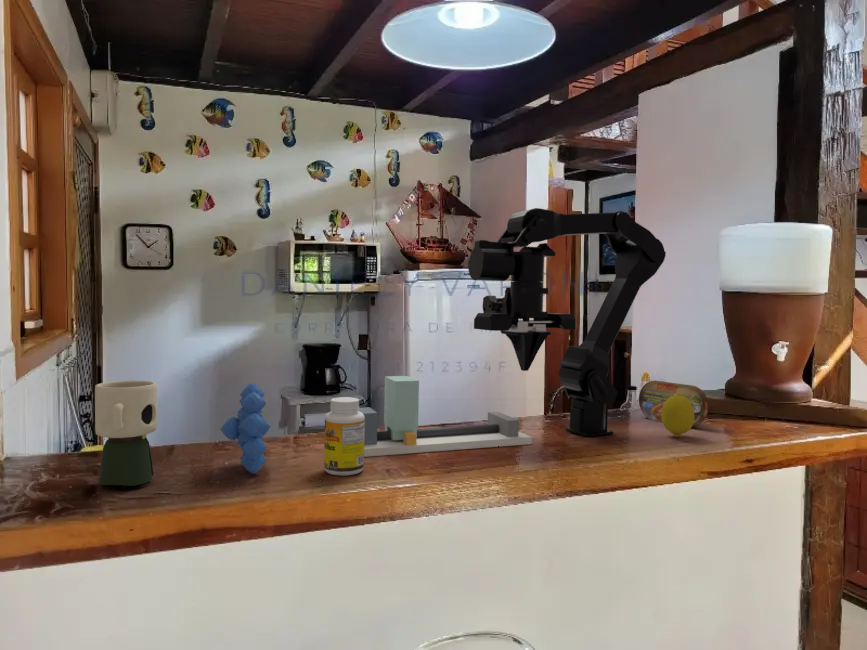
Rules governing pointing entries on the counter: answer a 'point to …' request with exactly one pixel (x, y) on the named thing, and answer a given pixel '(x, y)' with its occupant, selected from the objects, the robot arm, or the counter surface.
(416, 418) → the sleeve
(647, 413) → the tin
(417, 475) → the counter surface
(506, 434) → the cord rig
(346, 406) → the supplement bottle
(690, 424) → the lemon
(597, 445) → the counter surface
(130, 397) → the character mug
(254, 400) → the grapes
